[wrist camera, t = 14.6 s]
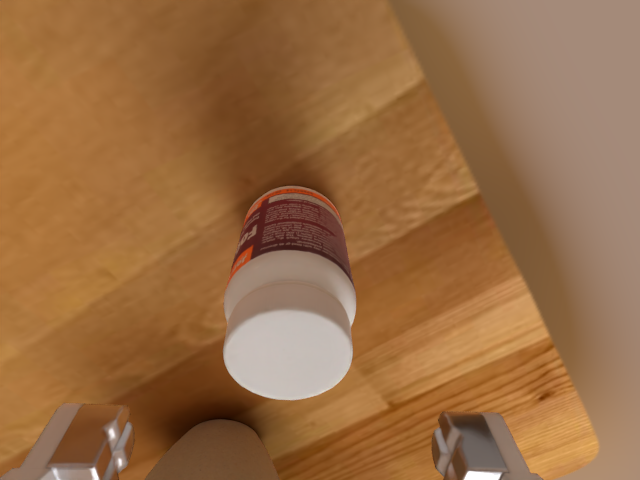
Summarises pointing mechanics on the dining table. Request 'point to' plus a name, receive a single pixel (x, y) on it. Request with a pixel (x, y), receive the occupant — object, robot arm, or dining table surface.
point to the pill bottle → (290, 297)
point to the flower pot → (216, 455)
